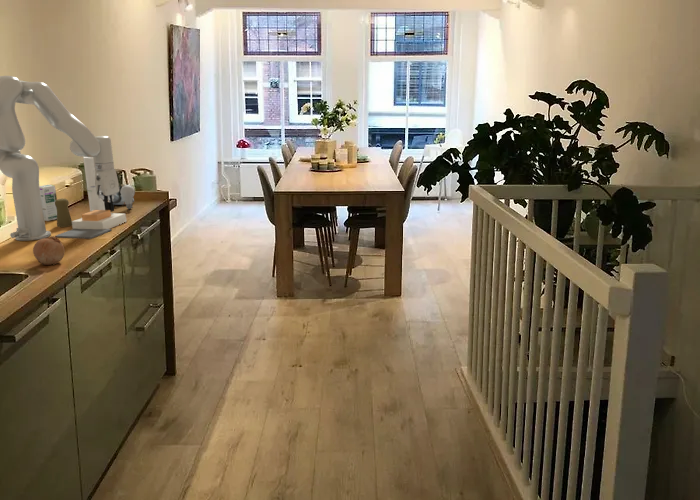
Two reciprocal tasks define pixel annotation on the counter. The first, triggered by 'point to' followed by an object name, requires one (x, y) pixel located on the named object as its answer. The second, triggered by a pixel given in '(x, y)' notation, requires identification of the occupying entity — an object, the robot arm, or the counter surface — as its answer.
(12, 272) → the counter surface
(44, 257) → the onion
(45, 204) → the syrup box
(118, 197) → the lucky cat figurine
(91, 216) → the tile
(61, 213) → the olive green shaker
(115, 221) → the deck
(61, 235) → the mat
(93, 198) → the tall white block
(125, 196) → the lightbulb
